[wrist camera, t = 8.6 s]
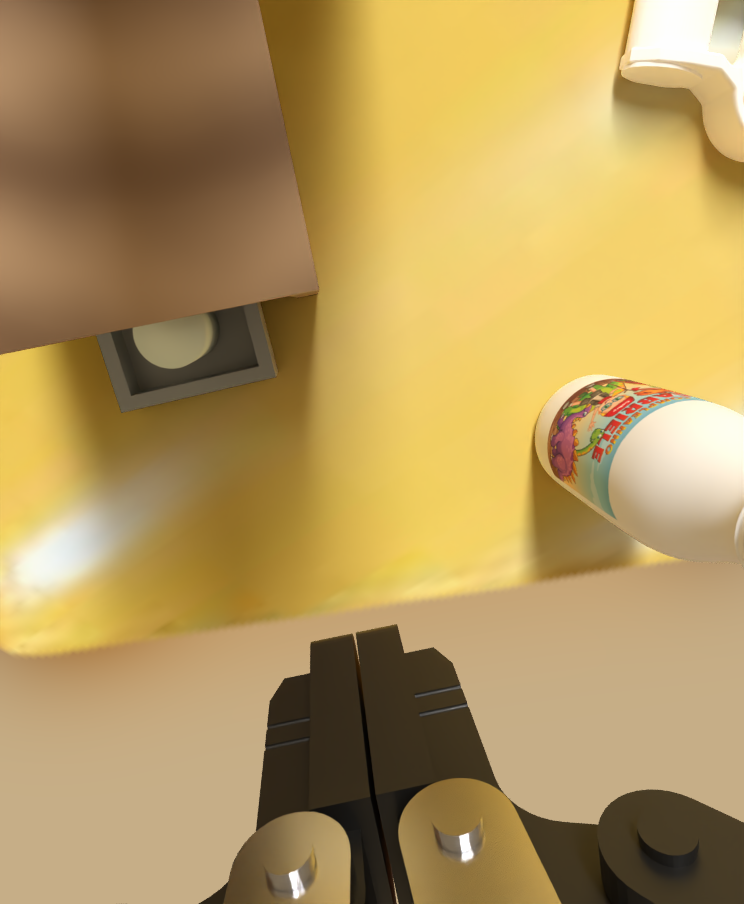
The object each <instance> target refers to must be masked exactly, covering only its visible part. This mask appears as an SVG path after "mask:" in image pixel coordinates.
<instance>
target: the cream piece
mask: <svg viewBox="0 0 744 904" xmlns="http://www.w3.org/2000/svg"><path fill="white" fill-rule="evenodd" d="M219 332H220V329H219V322H218V319H217V317H216V315H215V313H214V311H213V312H208V313H203V314H198V315H193V316H188V317H183V318H178V319H173V320H169V321H164V322H159V323H154V324H149V325H144V326H139V327H134V328H133V338H134V342H135V344H136V346H137V348H138V350H139V351H140V353H141V354H142V355H143V356H144V358H146V359H147V360H148V361H149V362H151V363H152V364H154V365H156V366H159V367H162V368H168V369H175V368H181V367H184V366H186V365H188V364H190V363H192V362H194V361H196V360H198V359H199V358H201V357H203V356H205V355H207V354H208V353H209V352H210V351H211V350H212V349H213V348H214V347H215V345H216V343H217V341H218V338H219Z"/></svg>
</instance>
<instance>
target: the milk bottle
mask: <svg viewBox="0 0 744 904" xmlns="http://www.w3.org/2000/svg"><path fill="white" fill-rule="evenodd" d="M535 447H536V452H537V455H538V458H539V461H540V463H541V465H542V467H543V468H544V469H545V471H546V472H547V473H548V474H549V475H550V476H551V477H552V478H553V479H554V480H555V481H556V482H557V483H558V484H560V485H561V486H562V487H564V488H565V489H566V490H568V491H569V492H570V493H572V494H573V495H574V496H576V497H577V498H578V499H580V500H581V501H582V502H584V503H585V504H586V505H588V506H589V507H591V508H592V509H593V510H595V511H596V512H597V513H599V514H600V515H601V516H603V517H604V518H606V519H607V520H608V521H610V522H611V523H612V524H614V525H615V526H617V527H618V528H619V529H621V530H622V531H624V532H625V533H627V534H628V535H630V536H631V537H633V538H634V539H636V540H638V541H639V542H641V543H642V544H644V545H646V546H647V547H650V548H652V549H654V550H656V551H658V552H660V553H663V554H665V555H668V556H671V557H674V558H678V559H682V560H687V561H693V562H701V563H703V562H704V563H734V564H740V565H741V566H742V567H743V568H744V416H743V415H741V414H739V413H737V412H735V411H733V410H731V409H729V408H726V407H723V406H721V405H718V404H715V403H712V402H708V401H705V400H702V399H699V398H695V397H692V396H688V395H684V394H681V393H677V392H673V391H669V390H666V389H662V388H658V387H654V386H650V385H646V384H642V383H638V382H634V381H630V380H626V379H622V378H618V377H613V376H607V375H589V376H584V377H580V378H578V379H575V380H573V381H571V382H569V383H567V384H566V385H564V386H563V387H561V388H560V389H559V390H558V391H556V392H555V393H554V394H553V395H552V396H551V398H550V399H549V400H548V401H547V403H546V404H545V406H544V407H543V409H542V411H541V413H540V416H539V418H538V421H537V425H536V431H535Z"/></svg>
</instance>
